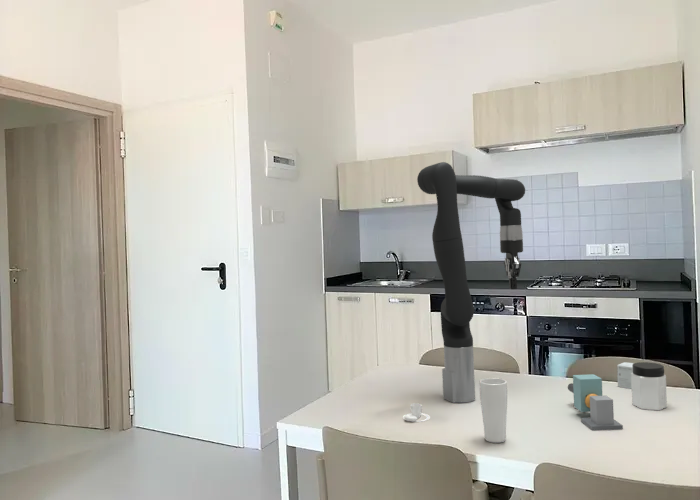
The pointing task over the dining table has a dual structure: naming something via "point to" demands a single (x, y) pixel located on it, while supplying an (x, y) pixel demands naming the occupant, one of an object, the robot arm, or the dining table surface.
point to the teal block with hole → (585, 389)
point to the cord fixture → (599, 412)
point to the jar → (648, 386)
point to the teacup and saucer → (415, 413)
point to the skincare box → (624, 374)
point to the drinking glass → (494, 408)
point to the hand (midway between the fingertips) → (513, 289)
